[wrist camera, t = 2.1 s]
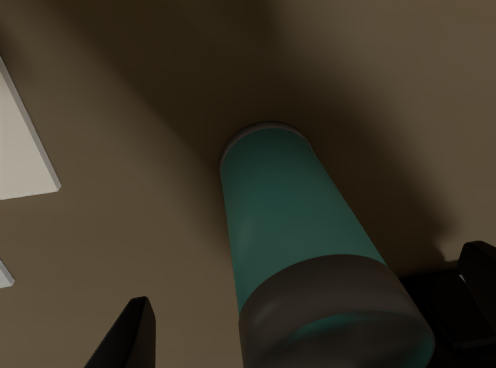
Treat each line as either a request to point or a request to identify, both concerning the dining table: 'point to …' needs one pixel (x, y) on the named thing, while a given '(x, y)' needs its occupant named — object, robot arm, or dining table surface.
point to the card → (5, 276)
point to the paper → (21, 148)
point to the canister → (309, 264)
